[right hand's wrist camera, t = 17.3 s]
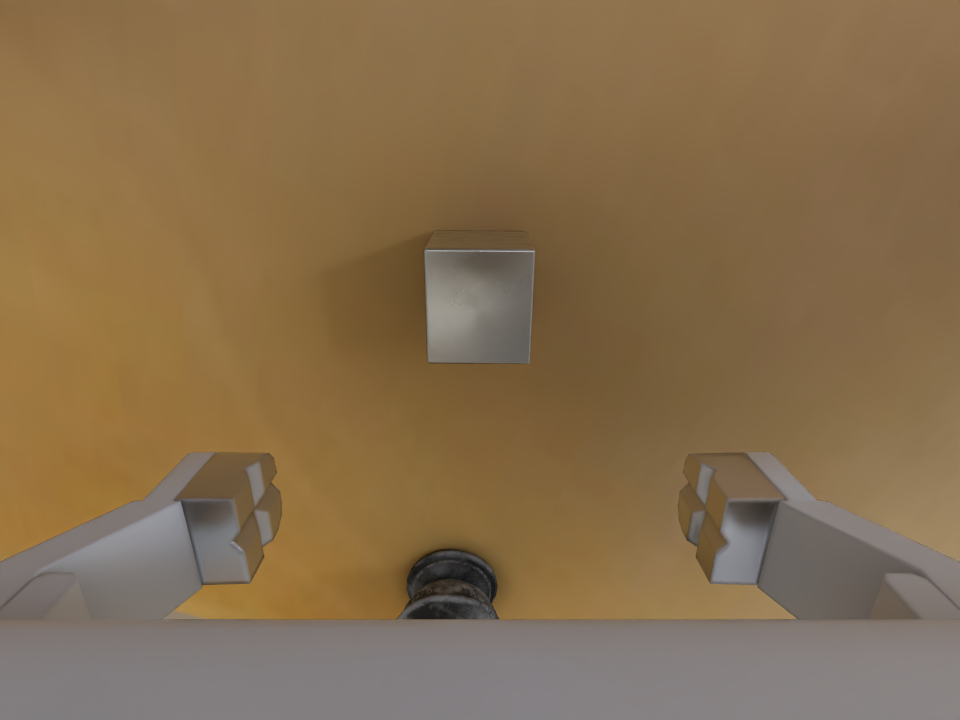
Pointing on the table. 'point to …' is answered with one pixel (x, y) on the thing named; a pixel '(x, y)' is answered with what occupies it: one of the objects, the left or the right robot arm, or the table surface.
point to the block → (479, 297)
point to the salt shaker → (451, 588)
